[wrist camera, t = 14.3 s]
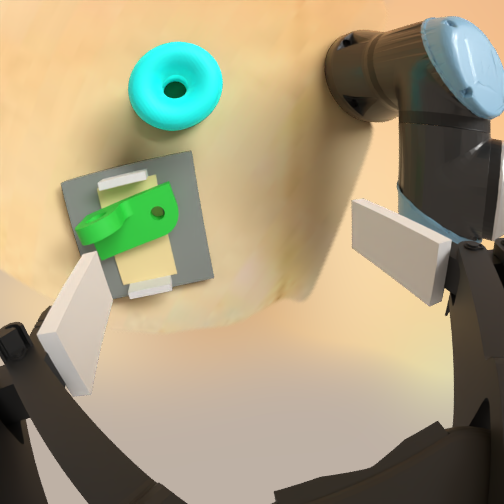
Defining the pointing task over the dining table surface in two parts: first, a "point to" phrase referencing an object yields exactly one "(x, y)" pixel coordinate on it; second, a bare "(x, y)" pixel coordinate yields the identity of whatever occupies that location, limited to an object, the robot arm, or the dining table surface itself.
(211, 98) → the donuts
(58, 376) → the robot arm
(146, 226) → the mechanical part
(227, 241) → the dining table surface
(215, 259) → the dining table surface
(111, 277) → the grey square plate
